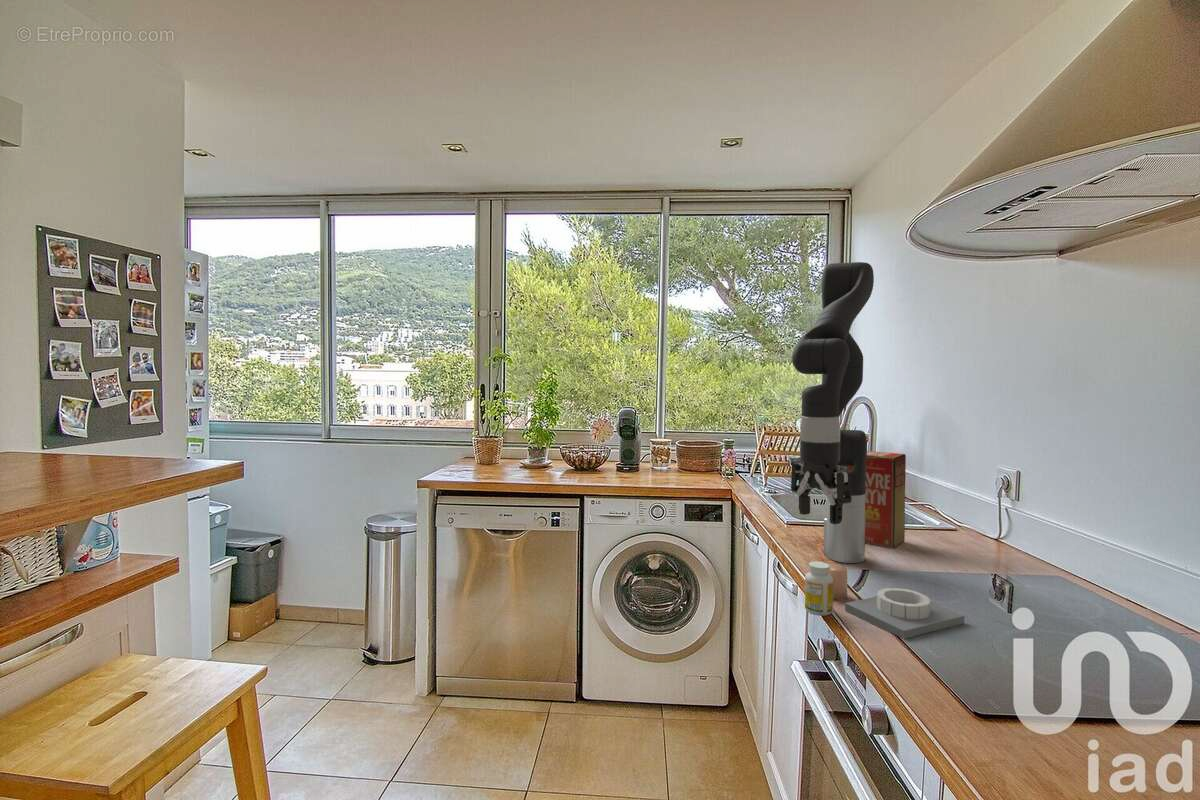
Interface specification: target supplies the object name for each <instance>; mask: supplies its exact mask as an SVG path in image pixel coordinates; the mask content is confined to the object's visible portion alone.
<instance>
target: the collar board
mask: <svg viewBox="0 0 1200 800" xmlns="http://www.w3.org/2000/svg"><path fill="white" fill-rule="evenodd" d="M844 610H845V611H846V612H848V613H850V614H851V615H854V616H856V617H859V618H860V619H862V620H863V621H866V622H869V623H870V624H872V625H874V626H877V627H879V628H880V629H882V630H885V631H887V632H889V633H891V634H893V635H895V636H897V637H898V638H901V637H902V639H903V638H905V639H907V638H906V637H909V638H911V637H910V636H913V637H915V636H914V635H917V636H920V635H919V634H921V635H924V634H923V633H925V634H928V633H927V632H929V633H931V632H930V631H933V630H936V631H939V630H938V629H940V630H944V629H947V627H948V628H951V627H955V626H959V625H963V624H965V615H964V614H961V613H959V612H956V611H954V610H952V609H950V608H946V607H944V606H942V605H940V604H936V603H934V602H931V599H930V598H929V597H928V596H927V595H926V594H923V593H921V592H918V591H915V590H911V589H906V588H900V587H898V588H897V587H887V588H882V589H879V590H878V591H877V593H876V596H872V597H868V598H863V599H859V600H858V599H857V600H853V601H849V602H845V603H844ZM943 628H944V629H943ZM933 632H934V631H933Z"/></svg>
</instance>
